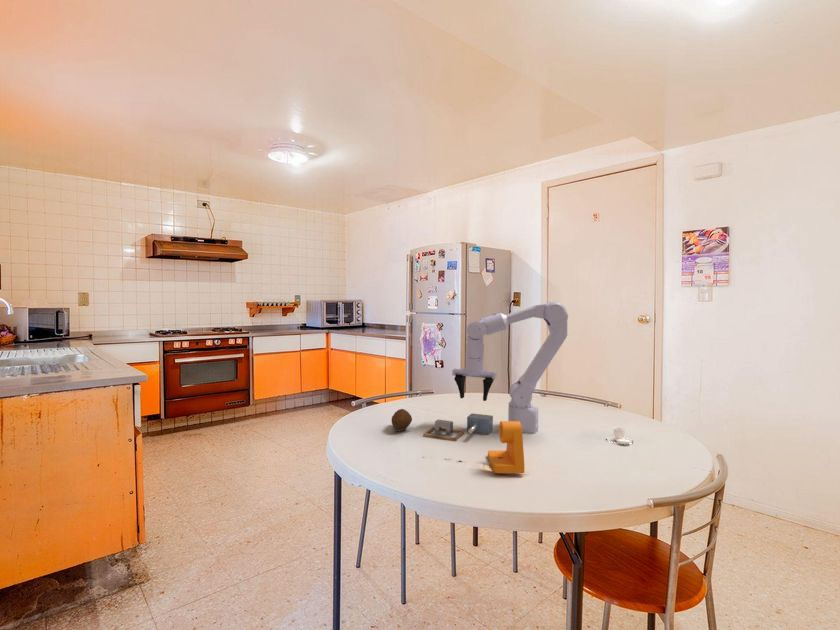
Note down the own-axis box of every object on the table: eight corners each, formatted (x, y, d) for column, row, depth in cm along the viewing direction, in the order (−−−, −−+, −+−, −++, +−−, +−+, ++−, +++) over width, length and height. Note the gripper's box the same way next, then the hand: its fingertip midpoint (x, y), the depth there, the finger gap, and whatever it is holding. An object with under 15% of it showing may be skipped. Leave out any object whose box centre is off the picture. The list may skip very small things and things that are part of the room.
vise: (493, 433, 140) (493, 415, 140) (481, 447, 126) (481, 427, 126) (472, 430, 143) (472, 412, 143) (458, 444, 129) (458, 424, 129)
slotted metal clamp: (452, 437, 134) (453, 421, 134) (450, 439, 132) (450, 423, 132) (437, 435, 136) (437, 419, 136) (434, 437, 134) (435, 421, 134)
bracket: (487, 460, 117) (487, 415, 116) (514, 460, 117) (514, 416, 116) (494, 476, 106) (495, 427, 105) (524, 476, 106) (525, 427, 106)
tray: (464, 437, 136) (464, 430, 136) (455, 445, 128) (455, 438, 128) (433, 433, 140) (433, 426, 140) (423, 440, 132) (423, 433, 132)
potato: (411, 424, 149) (411, 404, 149) (412, 435, 138) (412, 413, 138) (391, 424, 149) (391, 404, 149) (391, 435, 138) (391, 413, 137)
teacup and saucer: (631, 448, 128) (631, 435, 128) (602, 443, 133) (602, 430, 132) (634, 441, 136) (635, 428, 136) (607, 436, 140) (607, 423, 140)
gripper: (449, 357, 142) (448, 398, 142) (493, 360, 136) (492, 404, 136) (456, 355, 148) (455, 394, 149) (498, 358, 143) (497, 399, 143)
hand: (473, 399), depth 143 cm, fingers open, 7 cm apart
